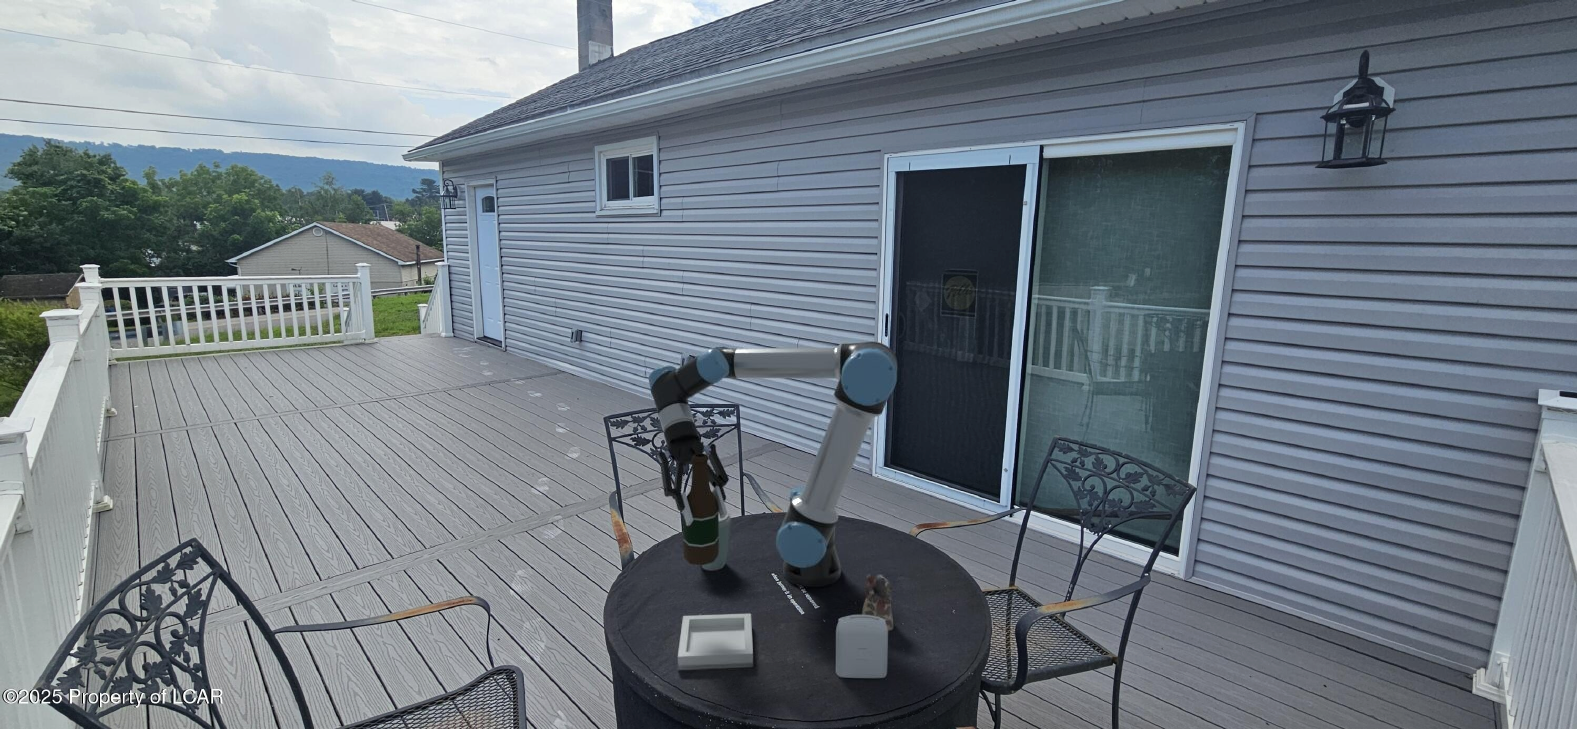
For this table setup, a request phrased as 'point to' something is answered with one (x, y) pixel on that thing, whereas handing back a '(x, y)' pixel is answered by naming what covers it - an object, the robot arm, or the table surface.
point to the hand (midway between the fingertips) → (707, 519)
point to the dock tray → (715, 642)
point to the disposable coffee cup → (721, 544)
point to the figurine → (879, 599)
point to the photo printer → (861, 647)
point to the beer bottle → (701, 517)
